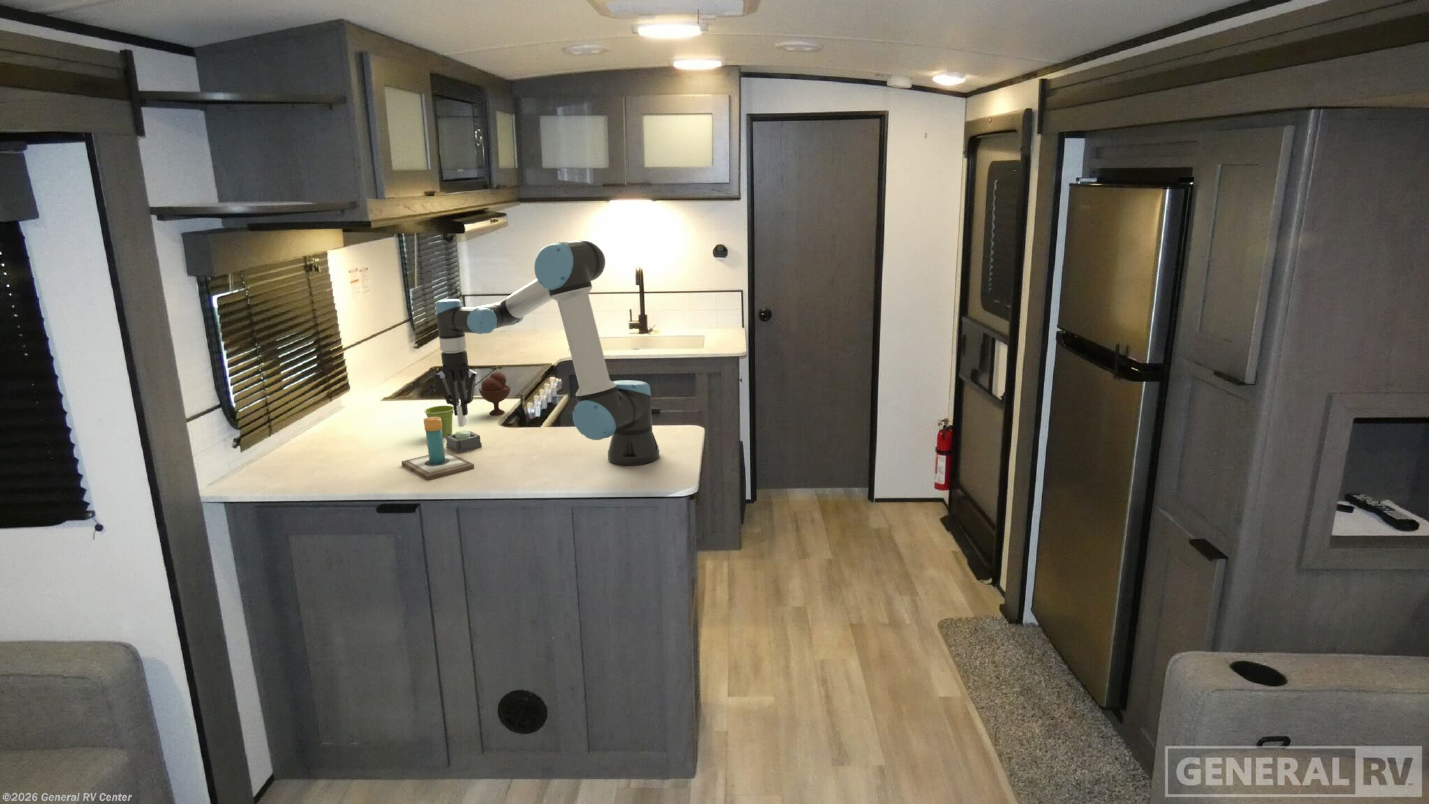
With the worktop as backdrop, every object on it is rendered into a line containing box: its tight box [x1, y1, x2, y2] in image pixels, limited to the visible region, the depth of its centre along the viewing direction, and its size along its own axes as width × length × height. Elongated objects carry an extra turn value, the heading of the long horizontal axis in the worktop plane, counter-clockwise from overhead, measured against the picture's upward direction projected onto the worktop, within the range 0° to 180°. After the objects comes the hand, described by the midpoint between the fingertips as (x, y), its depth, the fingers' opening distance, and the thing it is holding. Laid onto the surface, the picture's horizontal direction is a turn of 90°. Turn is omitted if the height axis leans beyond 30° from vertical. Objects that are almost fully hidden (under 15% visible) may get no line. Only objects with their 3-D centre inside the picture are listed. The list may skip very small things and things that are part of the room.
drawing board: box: [400, 450, 475, 481], centre depth 248 cm, size 18×14×2 cm
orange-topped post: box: [423, 417, 445, 464], centre depth 246 cm, size 5×5×13 cm
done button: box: [454, 430, 470, 440], centre depth 265 cm, size 4×4×3 cm
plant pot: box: [424, 405, 454, 437], centre depth 278 cm, size 9×9×9 cm
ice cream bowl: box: [478, 371, 511, 417], centre depth 301 cm, size 11×11×15 cm
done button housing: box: [445, 430, 483, 453], centre depth 265 cm, size 8×8×4 cm
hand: (462, 425), depth 264 cm, fingers closed
